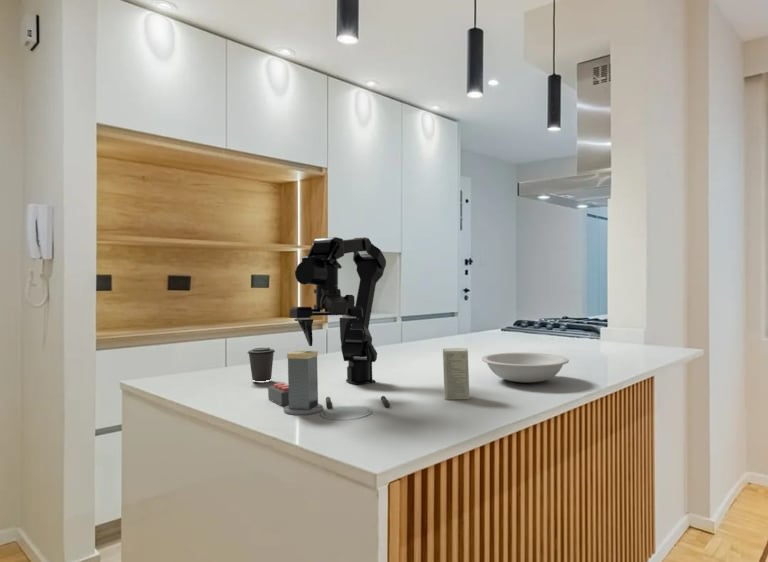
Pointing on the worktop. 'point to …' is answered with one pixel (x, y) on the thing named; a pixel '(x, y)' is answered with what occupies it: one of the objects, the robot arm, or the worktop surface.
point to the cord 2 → (385, 401)
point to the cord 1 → (328, 402)
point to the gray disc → (303, 412)
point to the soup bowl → (525, 366)
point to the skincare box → (456, 373)
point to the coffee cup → (261, 363)
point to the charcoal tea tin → (302, 380)
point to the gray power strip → (279, 393)
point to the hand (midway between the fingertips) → (327, 345)
